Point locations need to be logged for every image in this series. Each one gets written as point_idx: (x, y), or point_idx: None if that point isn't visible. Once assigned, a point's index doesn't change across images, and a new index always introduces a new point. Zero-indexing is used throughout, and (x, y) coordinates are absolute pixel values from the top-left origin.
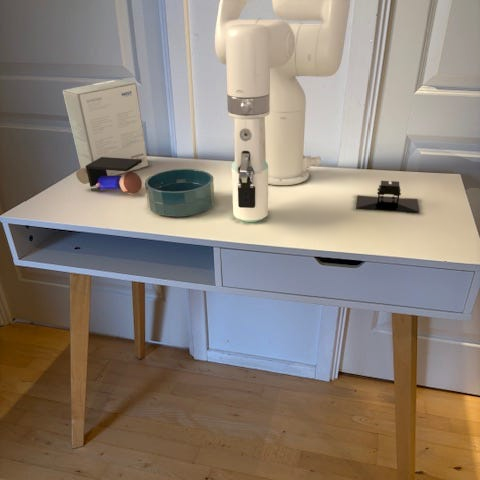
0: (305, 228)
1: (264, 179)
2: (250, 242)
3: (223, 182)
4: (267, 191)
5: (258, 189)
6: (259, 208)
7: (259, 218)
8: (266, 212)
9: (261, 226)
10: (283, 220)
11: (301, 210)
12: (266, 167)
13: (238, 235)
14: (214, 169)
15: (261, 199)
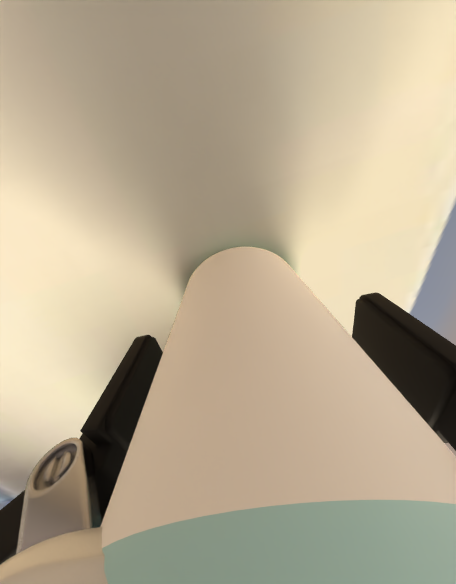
0: (314, 10)
1: (348, 364)
2: (434, 237)
3: (59, 416)
4: (259, 288)
5: (352, 338)
6: (300, 278)
7: (286, 262)
8: (254, 251)
9: (310, 241)
10: (244, 173)
11: (109, 112)
12: (391, 532)
13: (378, 286)
14: (4, 448)
15: (307, 290)
